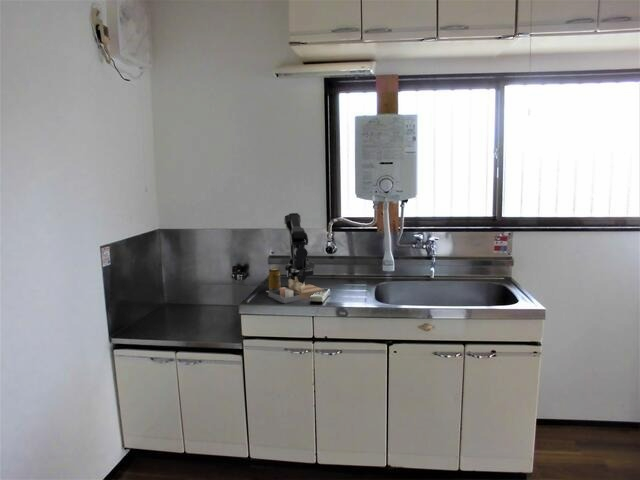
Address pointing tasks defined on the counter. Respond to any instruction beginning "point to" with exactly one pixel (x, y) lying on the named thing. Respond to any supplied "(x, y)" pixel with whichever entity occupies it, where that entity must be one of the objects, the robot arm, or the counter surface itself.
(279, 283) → the condiment
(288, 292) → the tile cream
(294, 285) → the t-shaped wooden block
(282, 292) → the tile terracotta
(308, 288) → the plate
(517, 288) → the counter surface
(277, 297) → the tray
